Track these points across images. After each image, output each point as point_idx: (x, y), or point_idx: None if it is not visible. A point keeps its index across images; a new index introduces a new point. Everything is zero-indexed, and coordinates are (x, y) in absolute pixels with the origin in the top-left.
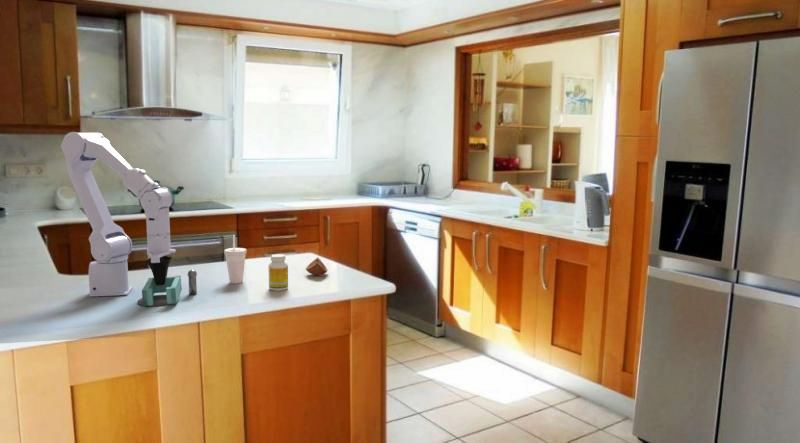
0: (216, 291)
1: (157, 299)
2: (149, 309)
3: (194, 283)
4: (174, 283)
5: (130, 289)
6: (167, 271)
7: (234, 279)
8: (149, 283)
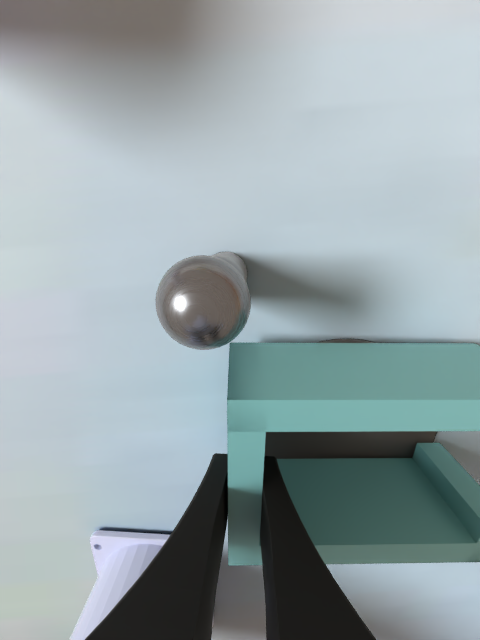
0: (179, 117)
1: (333, 433)
2: (473, 444)
3: (239, 269)
4: (449, 417)
5: (138, 537)
6: (188, 515)
7: None
8: (360, 549)
